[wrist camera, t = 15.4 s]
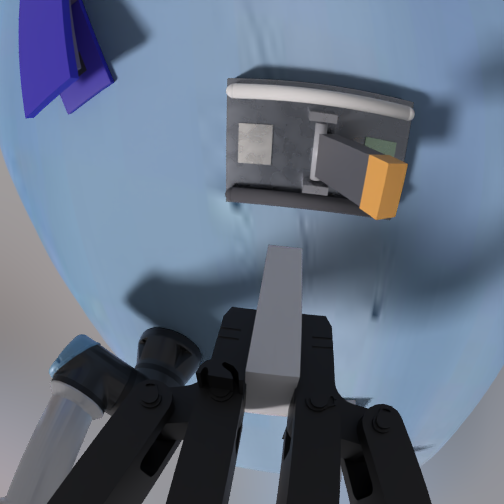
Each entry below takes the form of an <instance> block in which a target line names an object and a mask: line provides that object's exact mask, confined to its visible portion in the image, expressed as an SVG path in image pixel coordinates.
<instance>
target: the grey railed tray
mask: <svg viewBox="0 0 504 504" xmlns="http://www.w3.org/2000/svg"><path fill="white" fill-rule="evenodd" d="M226 93H227V95H228V96H229V97H231V98H242V99H265V100H280V101H291V102H302V103H311V104H319V105H327V106H334V107H341V108H347V109H353V110H359V111H364V112H370V113H375V114H380V115H384V116H389V117H393V118H398V119H402V120H406V121H410V120H412V119H413V118H414V116H415V113H414V110H413V109H412V108H411V107H409V106H406V105H402V104H398V103H393V102H389V101H385V100H380V99H375V98H370V97H365V96H360V95H354V94H349V93H342V92H336V91H329V90H322V89H314V88H305V87H295V86H283V85H268V84H242V83H233V84H230V85H229V86H228V87H227V89H226ZM225 196H226V198H227V199H228V200H229V201H234V202H246V203H257V204H268V205H278V206H288V207H297V208H306V209H315V210H323V211H332V212H340V213H347V214H355V215H362V216H370V215H368V214H367V213H366V212H364V211H363V210H361V209H360V208H359V207H360V206H358V205H357V204H355V203H354V202H352V201H351V200H349V199H343V198H336V197H328V196H320V195H311V194H302V193H293V192H283V191H273V190H262V189H250V188H238V187H230V188H228V189H227V190H226V193H225ZM370 217H371V216H370ZM385 219H390V218H385Z"/></svg>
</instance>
